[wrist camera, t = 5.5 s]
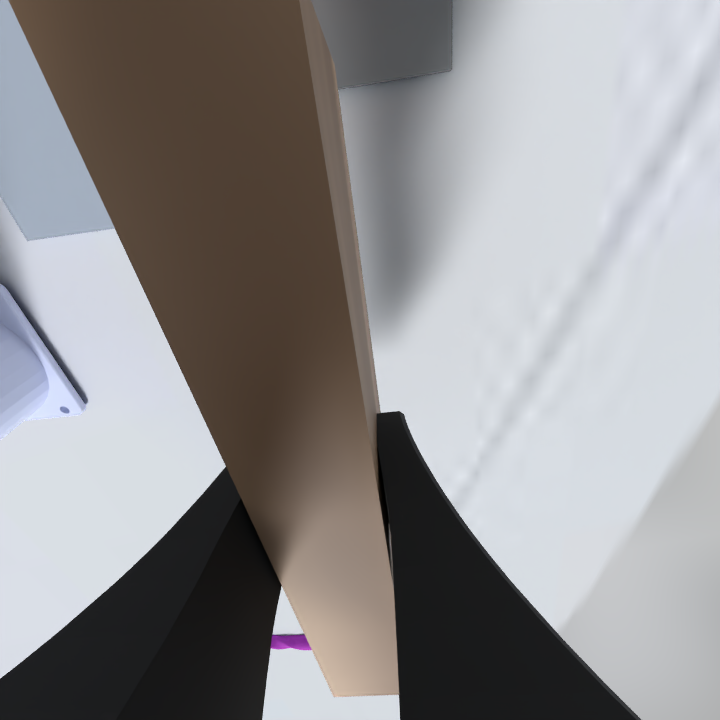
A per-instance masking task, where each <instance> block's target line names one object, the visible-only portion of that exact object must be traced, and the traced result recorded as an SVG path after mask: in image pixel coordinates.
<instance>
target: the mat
mask: <svg viewBox="0 0 720 720" xmlns="http://www.w3.org/2000/svg"><path fill="white" fill-rule="evenodd" d="M311 1H312V4H313V7H314V10H315V12H316V15H317V18H318V21H319V23H320V26H321V29H322V32H323V34H324V37H325V40H326V43H327V45H328V48H329V51H330V54H331V56H332V59H333V62H334V65H335V71H336V79H337V86H338V90H339V89H345V88H351V87H357V86H363V85H369V84H375V83H381V82H387V81H393V80H399V79H404V78H410V77H416V76H422V75H428V74H434V73H440V72H446V71H451V70H452V0H311Z"/></svg>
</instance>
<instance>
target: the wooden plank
mask: <svg viewBox="0 0 720 720" xmlns="http://www.w3.org/2000/svg"><path fill="white" fill-rule="evenodd" d="M8 1H9V3H10V5H11V7H12V9H13V11H14V13H15V16H16V18H17V20H18V22H19V24H20V26H21V28H22V31H23V33H24V35H25V37H26V39H27V41H28V43H29V46H30V48H31V50H32V52H33V54H34V56H35V58H36V61H37V63H38V65H39V67H40V69H41V71H42V73H43V76H44V78H45V80H46V82H47V84H48V86H49V88H50V91H51V93H52V95H53V97H54V99H55V101H56V103H57V106H58V108H59V110H60V112H61V114H62V116H63V118H64V120H65V123H66V125H67V127H68V129H69V131H70V133H71V135H72V138H73V140H74V142H75V144H76V146H77V148H78V150H79V153H80V155H81V157H82V159H83V161H84V163H85V165H86V168H87V170H88V172H89V174H90V176H91V178H92V180H93V183H94V185H95V187H96V189H97V191H98V193H99V195H100V198H101V200H102V202H103V204H104V206H105V208H106V210H107V213H108V215H109V217H110V219H111V221H112V223H113V225H114V227H115V230H116V232H117V234H118V236H119V238H120V240H121V242H122V245H123V247H124V249H125V251H126V253H127V255H128V257H129V260H130V262H131V264H132V266H133V268H134V270H135V272H136V275H137V277H138V279H139V281H140V283H141V285H142V287H143V290H144V292H145V294H146V296H147V298H148V300H149V302H150V305H151V307H152V309H153V311H154V313H155V315H156V317H157V320H158V322H159V324H160V326H161V328H162V330H163V332H164V335H165V337H166V339H167V341H168V343H169V345H170V347H171V349H172V352H173V354H174V356H175V358H176V360H177V362H178V364H179V367H180V369H181V371H182V373H183V375H184V377H185V379H186V382H187V384H188V386H189V388H190V390H191V392H192V394H193V397H194V399H195V401H196V403H197V405H198V407H199V409H200V412H201V414H202V416H203V418H204V420H205V422H206V424H207V427H208V429H209V431H210V433H211V435H212V437H213V439H214V442H215V444H216V446H217V448H218V450H219V452H220V454H221V457H222V459H223V461H224V463H225V465H226V467H227V469H228V471H229V474H230V476H231V478H232V480H233V482H234V484H235V486H236V489H237V491H238V493H239V495H240V497H241V499H242V501H243V504H244V506H245V508H246V510H247V512H248V514H249V516H250V519H251V521H252V523H253V525H254V527H255V529H256V531H257V534H258V536H259V538H260V540H261V542H262V544H263V546H264V549H265V551H266V553H267V555H268V557H269V559H270V561H271V564H272V566H273V568H274V570H275V572H276V574H277V576H278V578H279V581H280V583H281V585H282V587H283V589H284V591H285V593H286V596H287V598H288V600H289V602H290V604H291V606H292V608H293V611H294V613H295V615H296V617H297V619H298V621H299V623H300V626H301V628H302V630H303V632H304V634H305V636H306V638H307V641H308V643H309V645H310V647H311V649H312V651H313V653H314V656H315V658H316V660H317V662H318V664H319V666H320V668H321V671H322V673H323V675H324V677H325V679H326V681H327V683H328V686H329V688H330V690H331V692H332V694H333V696H334V697H347V696H375V695H399V681H398V661H397V641H396V621H395V602H394V583H393V565H392V548H391V533H390V527H389V521H388V514H387V508H386V501H385V494H384V487H383V480H382V473H381V467H380V460H379V453H378V446H377V413H381V412H380V405H379V397H378V390H377V382H376V375H375V367H374V359H373V352H372V344H371V337H370V329H369V321H368V314H367V306H366V299H365V291H364V284H363V276H362V268H361V261H360V253H359V246H358V238H357V231H356V223H355V215H354V208H353V200H352V193H351V185H350V177H349V170H348V162H347V155H346V147H345V140H344V132H343V124H342V117H341V109H340V102H339V94H338V86H337V79H336V71H335V65H334V62H333V59H332V56H331V54H330V51H329V48H328V45H327V43H326V40H325V37H324V34H323V32H322V29H321V26H320V23H319V21H318V18H317V15H316V12H315V10H314V7H313V4H312V1H311V0H8Z"/></svg>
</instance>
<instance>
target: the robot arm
mask: <svg viewBox="0 0 720 720" xmlns="http://www.w3.org/2000/svg"><path fill="white" fill-rule="evenodd" d="M85 410H86V406H85V404H84V402H83V401H82V399H81V398H80V396H79V395H78V393H77V392H76V390H75V389H74V387H73V386H72V384H71V383H70V381H69V380H68V379H67V377H66V376H65V374H64V373H63V371H62V370H61V368H60V367H59V365H58V364H57V362H56V361H55V359H54V358H53V356H52V355H51V353H50V352H49V351H48V349H47V348H46V346H45V345H44V343H43V342H42V340H41V339H40V337H39V336H38V334H37V333H36V331H35V330H34V328H33V327H32V326H31V324H30V323H29V321H28V320H27V318H26V317H25V315H24V314H23V312H22V311H21V309H20V308H19V306H18V305H17V303H16V302H15V300H14V299H13V298H12V296H11V295H10V293H9V292H8V290H7V289H6V288H5V287H4V286H3V285H2V284H0V440H1V439H3V438H4V437H5V436H6V435H7V434H9V433H10V432H11V431H12V430H14V429H15V428H16V427H17V426H18V425H20V424H21V423H22V422H23V421H28V420H37V419H47V418H56V417H66V416H76V415H81V414H82V413H83V412H84V411H85ZM377 446H378V453H379V460H380V467H381V473H382V480H383V487H384V494H385V501H386V508H387V514H388V521H389V527H390V533H391V548H392V565H393V583H394V602H395V621H396V641H397V661H398V681H399V702H400V720H641V719H640V718H639V717H638V716H637V715H636V714H635V713H634V712H633V711H632V710H631V709H630V708H629V707H628V706H627V705H626V704H625V703H624V702H623V701H622V700H621V699H620V698H619V697H618V696H617V695H616V694H615V693H614V692H613V691H612V690H611V689H610V688H609V687H608V686H607V685H606V684H605V683H604V682H603V681H602V680H601V679H600V678H599V677H598V676H597V675H596V673H595V672H594V671H593V670H592V669H591V668H590V667H589V666H588V665H587V664H586V663H585V662H584V661H583V660H582V659H581V658H580V657H579V656H578V655H577V654H576V653H575V652H574V651H573V649H571V647H570V646H569V645H568V644H567V643H566V642H565V641H564V640H563V639H562V638H561V637H560V636H559V635H558V633H557V632H556V631H555V630H554V629H553V628H552V627H551V626H550V624H549V623H548V622H547V621H546V620H545V619H544V618H543V617H542V616H541V614H540V613H539V612H538V611H537V610H536V609H535V608H534V607H533V605H532V604H531V603H530V602H529V601H528V600H527V599H526V598H525V596H524V595H523V594H522V593H521V592H520V591H519V590H518V589H517V588H516V586H515V585H514V584H513V583H512V582H511V581H510V579H509V578H508V577H507V576H506V575H505V573H504V572H503V571H502V570H501V569H500V567H499V566H498V565H497V564H496V562H495V561H494V560H493V559H492V558H491V556H490V555H489V554H488V553H487V551H486V550H485V549H484V547H483V546H482V545H481V544H480V542H479V541H478V540H477V538H476V537H475V536H474V535H473V533H472V532H471V531H470V529H469V528H468V526H467V525H466V524H465V522H464V521H463V520H462V518H461V517H460V515H459V514H458V513H457V511H456V510H455V508H454V507H453V505H452V504H451V502H450V501H449V499H448V498H447V496H446V495H445V493H444V492H443V490H442V489H441V487H440V486H439V484H438V482H437V481H436V479H435V478H434V476H433V474H432V472H431V471H430V469H429V467H428V466H427V464H426V462H425V461H424V459H423V457H422V455H421V453H420V452H419V450H418V448H417V446H416V444H415V442H414V440H413V437H412V435H411V433H410V431H409V428H408V426H407V423H406V420H405V416H404V414H403V413H401V412H400V411H397V412H387V413H377ZM281 586H282V585H281V583H280V581H279V578H278V576H277V574H276V572H275V570H274V568H273V566H272V564H271V561H270V559H269V557H268V555H267V553H266V551H265V549H264V546H263V544H262V542H261V540H260V538H259V536H258V534H257V531H256V529H255V527H254V525H253V523H252V521H251V519H250V516H249V514H248V512H247V510H246V508H245V506H244V504H243V501H242V499H241V497H240V495H239V493H238V491H237V489H236V486H235V484H234V482H233V480H232V478H231V476H230V474H229V471H228V469H227V467H225V468H224V470H223V471H222V472H221V473H220V474H219V476H218V477H217V478H216V479H215V480H214V481H213V483H212V484H211V485H210V486H209V487H208V488H207V490H206V491H205V492H204V493H203V494H202V495H201V497H200V498H199V499H198V500H197V501H196V502H195V503H194V504H193V505H192V506H191V507H190V509H189V510H188V511H187V512H186V513H185V514H184V515H183V516H182V517H181V518H180V520H179V521H178V522H177V523H176V524H175V525H174V526H173V527H172V528H171V529H170V530H169V531H168V532H167V533H166V534H165V535H164V537H163V538H162V539H161V540H160V541H159V542H158V543H157V544H156V545H155V546H154V547H153V548H152V549H151V550H150V551H149V552H147V553H146V554H145V555H144V556H143V557H142V558H141V559H140V560H139V561H138V562H137V563H136V564H135V565H134V566H133V567H132V568H131V569H130V570H129V571H128V572H126V573H125V574H124V575H123V576H122V577H121V578H120V579H119V580H118V581H117V582H116V583H115V584H113V585H112V586H111V587H110V588H109V589H108V590H107V591H105V592H104V593H103V594H102V595H101V596H100V597H98V598H97V599H96V600H95V601H94V602H93V603H92V604H90V605H89V606H88V607H87V608H86V609H85V610H83V611H82V612H81V613H80V614H79V615H78V616H77V617H75V618H74V619H73V620H72V621H71V622H70V623H69V624H67V625H66V626H65V627H64V628H63V629H62V630H60V631H59V632H58V633H57V634H56V635H54V636H53V637H52V638H51V639H50V640H48V641H47V642H46V643H45V644H43V645H42V646H41V647H40V648H38V649H37V650H36V651H35V652H33V653H32V654H31V655H30V656H28V657H27V658H26V659H25V660H24V661H22V662H21V663H20V664H19V665H17V666H16V667H15V668H13V669H12V670H11V671H10V672H8V673H7V674H6V675H4V676H3V677H2V678H1V679H0V720H262V715H263V706H264V697H265V689H266V680H267V672H268V664H269V656H270V649H271V641H272V633H273V626H274V621H275V615H276V610H277V605H278V600H279V595H280V591H281Z"/></svg>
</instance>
